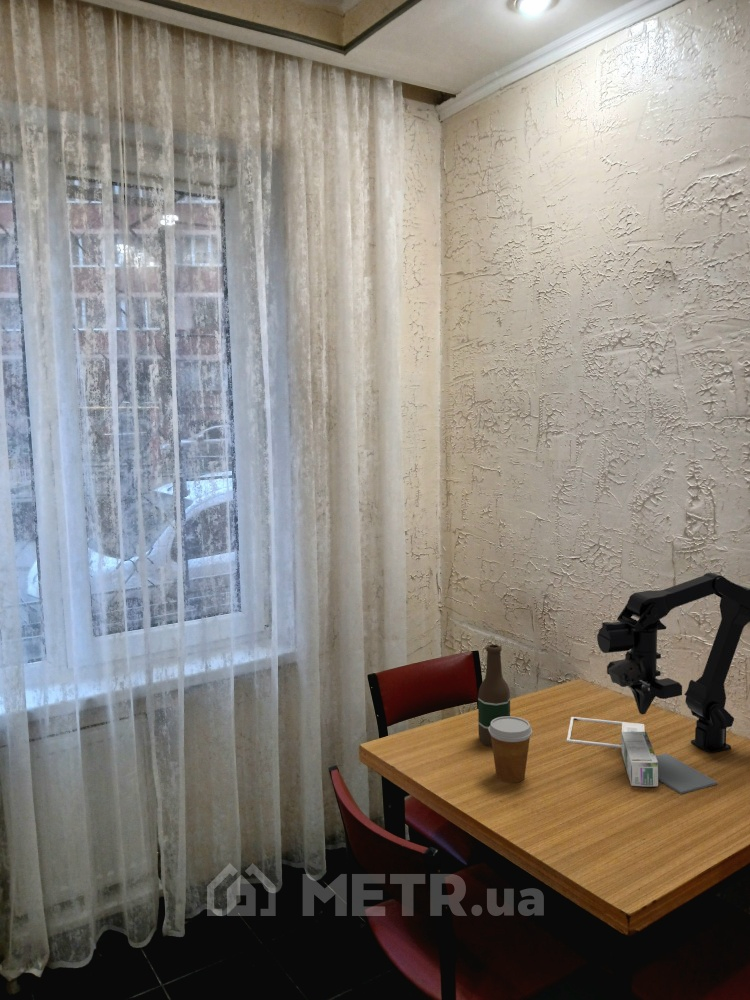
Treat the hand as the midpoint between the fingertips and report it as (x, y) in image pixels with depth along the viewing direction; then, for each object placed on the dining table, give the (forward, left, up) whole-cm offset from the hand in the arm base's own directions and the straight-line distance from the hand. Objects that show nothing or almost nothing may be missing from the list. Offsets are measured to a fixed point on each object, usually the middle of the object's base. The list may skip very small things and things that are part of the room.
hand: (642, 713), depth 174 cm
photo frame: (0, -13, -11) cm, 17 cm away
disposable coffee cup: (+33, -4, -10) cm, 35 cm away
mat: (0, +10, -10) cm, 14 cm away
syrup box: (+2, 0, -6) cm, 7 cm away
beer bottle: (+27, -21, -10) cm, 36 cm away
